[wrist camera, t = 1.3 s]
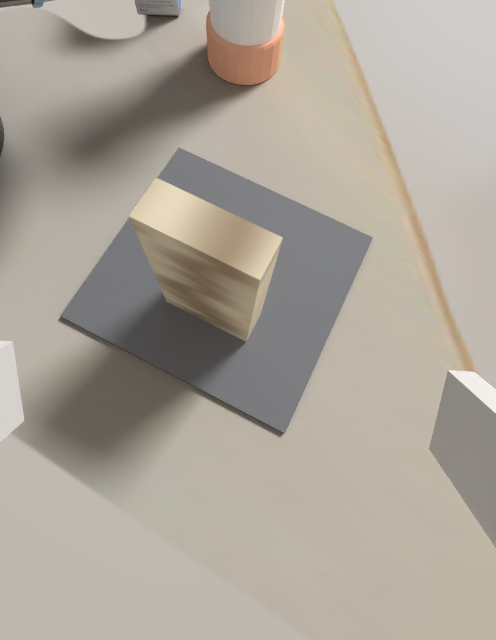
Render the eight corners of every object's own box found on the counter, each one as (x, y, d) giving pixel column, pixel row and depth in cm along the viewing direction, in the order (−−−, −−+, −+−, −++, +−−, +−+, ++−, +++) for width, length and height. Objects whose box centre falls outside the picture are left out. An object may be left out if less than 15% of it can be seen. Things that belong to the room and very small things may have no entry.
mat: (61, 317, 29) (60, 316, 28) (179, 149, 34) (178, 147, 33) (284, 433, 27) (284, 433, 27) (371, 239, 32) (372, 237, 32)
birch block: (166, 301, 29) (128, 216, 18) (182, 275, 30) (155, 177, 18) (246, 341, 29) (260, 280, 17) (260, 314, 29) (283, 237, 18)
